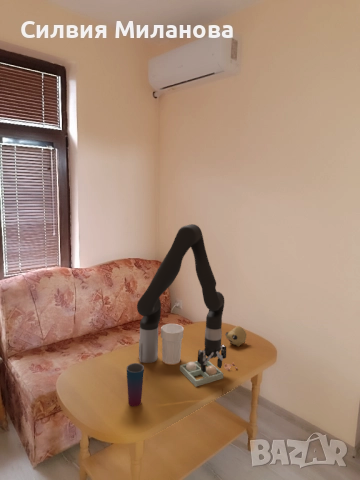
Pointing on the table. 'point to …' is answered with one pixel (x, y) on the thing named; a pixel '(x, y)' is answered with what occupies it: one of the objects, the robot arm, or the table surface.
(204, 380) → the egg tray
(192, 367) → the cream egg
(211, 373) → the brown egg
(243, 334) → the yellow toy animal head
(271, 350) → the table surface
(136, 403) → the cup
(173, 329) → the cup
